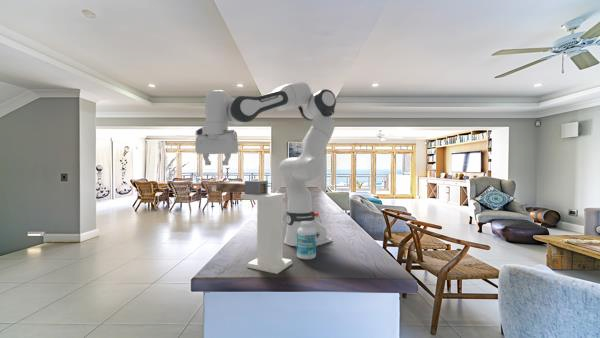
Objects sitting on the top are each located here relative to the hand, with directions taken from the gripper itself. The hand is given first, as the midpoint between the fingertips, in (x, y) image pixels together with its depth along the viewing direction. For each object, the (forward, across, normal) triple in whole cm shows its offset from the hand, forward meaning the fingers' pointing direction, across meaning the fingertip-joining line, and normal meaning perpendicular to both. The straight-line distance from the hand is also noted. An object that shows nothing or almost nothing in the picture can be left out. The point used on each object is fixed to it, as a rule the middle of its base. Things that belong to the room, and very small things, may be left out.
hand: (216, 165), depth 110 cm
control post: (+35, -26, +3) cm, 44 cm away
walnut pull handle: (+10, -14, +3) cm, 17 cm away
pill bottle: (+35, -35, -12) cm, 51 cm away
